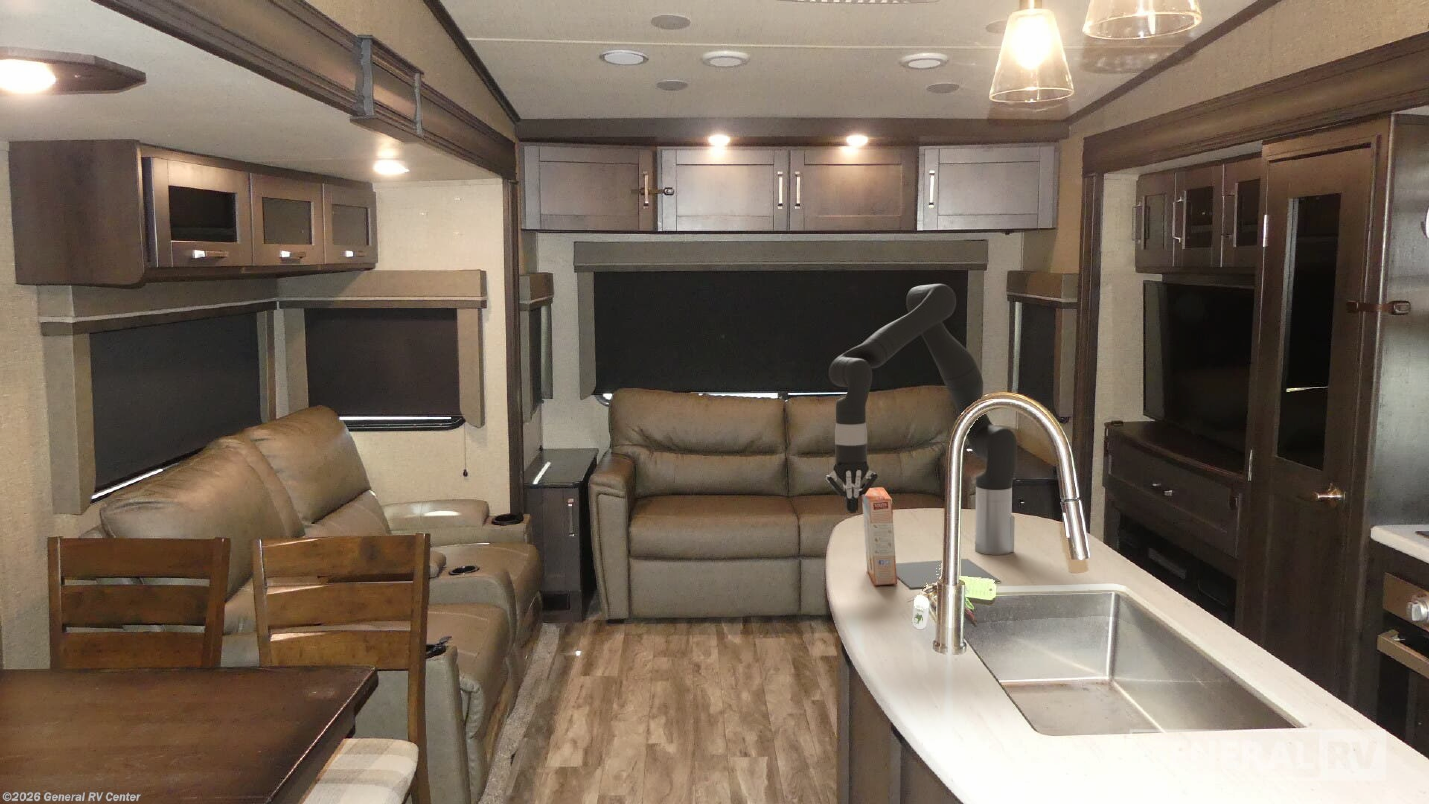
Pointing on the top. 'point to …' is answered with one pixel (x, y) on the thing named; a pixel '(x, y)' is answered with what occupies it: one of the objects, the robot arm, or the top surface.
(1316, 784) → the top surface
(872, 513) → the cracker box
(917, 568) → the mat
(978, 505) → the robot arm
